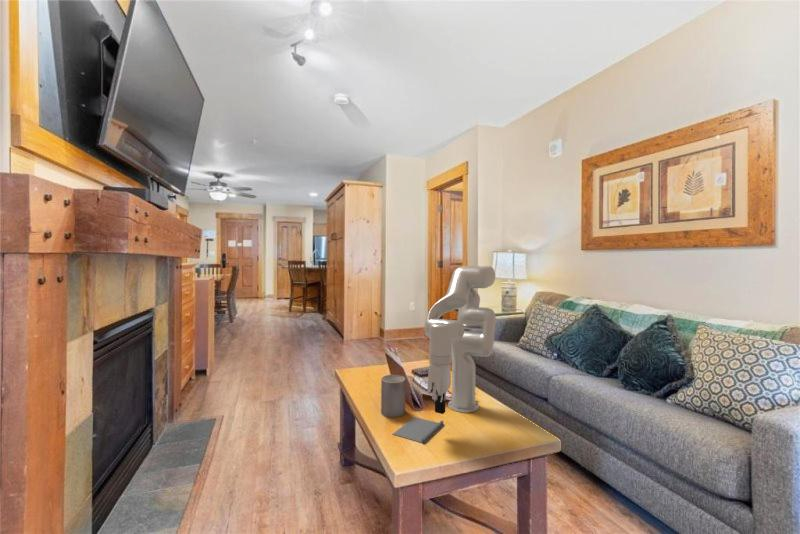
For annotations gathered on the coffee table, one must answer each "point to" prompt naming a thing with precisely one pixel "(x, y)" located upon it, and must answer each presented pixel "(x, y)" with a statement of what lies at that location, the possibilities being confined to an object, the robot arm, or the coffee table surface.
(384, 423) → the coffee table surface
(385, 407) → the pillar candle
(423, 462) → the coffee table surface
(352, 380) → the coffee table surface
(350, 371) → the coffee table surface
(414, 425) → the slate mat
